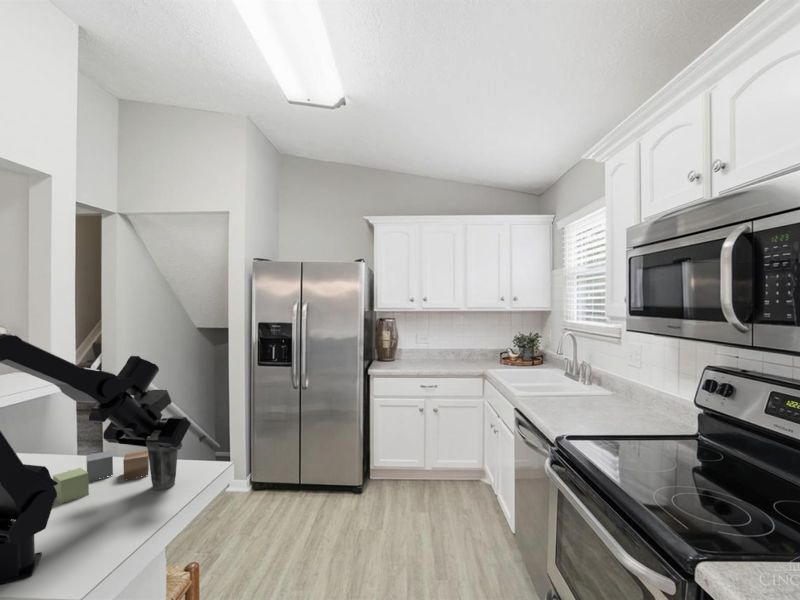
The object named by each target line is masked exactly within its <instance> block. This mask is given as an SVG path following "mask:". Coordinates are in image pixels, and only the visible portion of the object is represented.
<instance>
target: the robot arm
mask: <svg viewBox="0 0 800 600" xmlns="http://www.w3.org/2000/svg"><path fill="white" fill-rule="evenodd" d="M0 364H3V365H5V366H8V367H10V368H13V369H16V370H17V371H19V372H22V373H25V374H28V375H31V376H33V377H35V378H38V379H39V380H43V381H45V382H47V383H50V384H53V385H55V386H56V387H57V388H58V389H59V390H60V391H61V393H63V395H65V396H67V397H68V398H70V399H71V400H73V401H74V402H78V403H90V404H91V403H94V404H96V405H95V406H93V407H91V408H90V409H89V410H90V413H89V415H88V421H89V422H98V423H105V422H106V421H107V420H109V422H110V423H109V424H108V426H106V429H105V430H103V436H102V437H103V440H104V441H106V442H107V443H111V444H112V443H113V444H119V445H127V446H134V447H136V446H137V447H144V448H147V446H146V441H145V440H146V439H147V437H150V436H151V435H152V433H159V435H158V443H159V444H160V445H159V447H163V448H170V449H177V450H178V451H180V450H181V449H182V448H183V442H182V441H183V439H184V438H185V436H186V434H187V433H188V430H189V428H190V427H191V425H192V423H191V420H189V418H187V416H176V415H175V416H170V417H167V418H168V420H167V422H157V420H160V418H162V417H163V414H162V413H160V412H163V411H164V409H166V408H167V407H168V405H171V404H172V402H173V400H172V399H171V396H170V394H169V391H168V390H167V389H151V390H147V389H148V388H149V386H150V385H151V383H152V382H153V380H154V379H155V377H156V376H157V374H158V373H159V371H160V367H159V366H158V365H157V364H156V363H152V362H151V361H149V360H147V359H143V358H142V357H141V356H139V355H130V357H129V358H128V359H127V361H126V362H125V365H124V366H123V367H122V369H120V371H119V372H118V374H117V375H116V374H115V373H112V372H109V371H104V370H100V369H94V368H88V367H83V366H79V365H77V364H75V363H73V362H71V361H68V360H66V359H65V358H61V356H58V355H55V354H54V353H52V352H49V351H47V350H45V349H42V348H41V347H39V346H36V345H33V344H32V343H30V342H28V341H25V340H23V339H22V338H21V337H19V336H18V335H16V334H13V333H0ZM57 484H58V482H55V481H54V480H53V477H52V476H51V473H50V471H49V469H48V468H47V467H46V466H44V465H34V464H26V463H24V464H23V462H22V460H21V458H19V456H18V454H17V453H16V451H15V450H14V449H13V447H12V446H11V444H10V442H9V441H8V440H7V438H6V436H5V435H4V434H3V432H2V431H1V430H0V585H1V584H6V583H9V582H14V581H18V580H21V579H25V578H28V577H31V576H33V575H34V572H35V570H36V568H37V567H38V564H39V562H40V561H41V558H42V557H43V552H41V551H40V552H39V551H38V552H35V551H36V549H35V545H36V544H35V543H36V542H35V535H36V534H38V533H39V532H42V531H44V530H45V529H47V526H48V522H49V519H50V516H51V514H52V513H51V512H52V509H53V506H54V503H55V501H56V499H55V498H56V497H57V491H56V488H55V487H54V486H55V485H57Z"/></svg>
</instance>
